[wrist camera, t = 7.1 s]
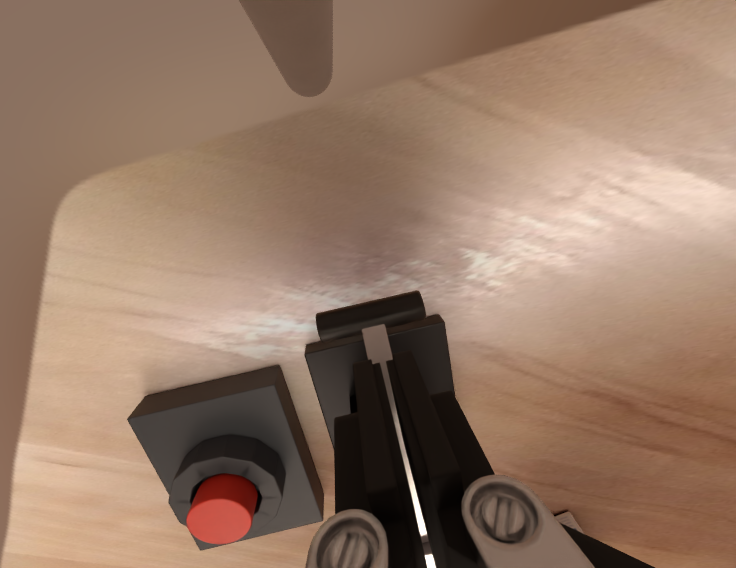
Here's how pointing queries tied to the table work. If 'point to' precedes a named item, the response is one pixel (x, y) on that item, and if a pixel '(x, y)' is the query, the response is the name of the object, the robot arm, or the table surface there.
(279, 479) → the button block
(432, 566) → the lever
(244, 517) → the button
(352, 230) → the table surface
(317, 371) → the bracket
